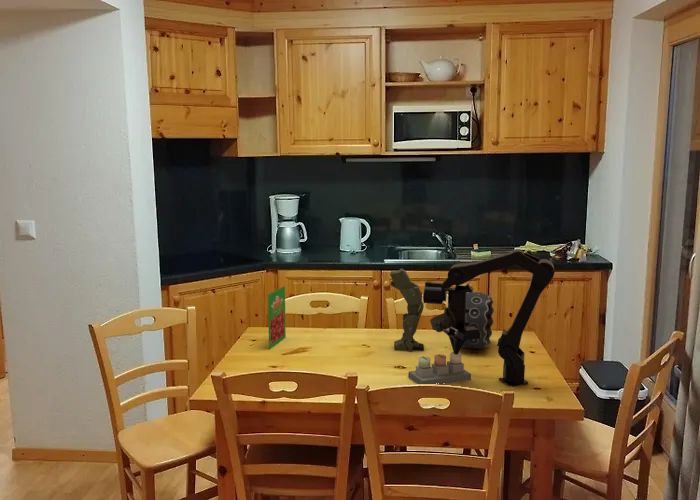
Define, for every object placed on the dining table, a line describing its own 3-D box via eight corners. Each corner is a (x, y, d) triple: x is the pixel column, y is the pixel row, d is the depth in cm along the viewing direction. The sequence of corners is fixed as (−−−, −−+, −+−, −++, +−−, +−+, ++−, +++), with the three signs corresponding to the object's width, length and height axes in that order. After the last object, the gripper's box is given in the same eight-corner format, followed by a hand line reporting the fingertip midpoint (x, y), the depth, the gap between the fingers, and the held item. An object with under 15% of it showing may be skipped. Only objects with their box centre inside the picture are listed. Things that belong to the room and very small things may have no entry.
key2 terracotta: (447, 372, 200) (448, 356, 199) (437, 374, 199) (438, 358, 198) (441, 368, 203) (442, 353, 203) (431, 370, 202) (432, 354, 201)
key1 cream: (463, 370, 202) (463, 354, 201) (453, 371, 201) (453, 356, 200) (457, 366, 205) (457, 351, 205) (447, 368, 204) (447, 352, 203)
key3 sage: (432, 374, 198) (432, 359, 197) (421, 376, 197) (422, 360, 196) (426, 371, 201) (426, 355, 201) (416, 372, 200) (416, 357, 199)
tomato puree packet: (270, 349, 230) (269, 294, 226) (267, 349, 230) (266, 294, 227) (286, 337, 244) (286, 285, 241) (284, 337, 244) (283, 285, 241)
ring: (453, 354, 225) (455, 297, 222) (464, 338, 244) (465, 286, 241) (485, 357, 222) (487, 300, 218) (493, 341, 240) (495, 288, 237)
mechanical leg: (434, 343, 234) (415, 263, 230) (434, 350, 227) (415, 267, 223) (396, 351, 236) (377, 272, 232) (396, 357, 229) (376, 276, 225)
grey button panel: (471, 379, 201) (471, 365, 200) (422, 387, 194) (422, 373, 193) (455, 370, 209) (456, 357, 208) (408, 377, 202) (408, 363, 202)
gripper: (419, 300, 205) (418, 348, 208) (450, 315, 188) (449, 366, 191) (450, 297, 209) (449, 344, 212) (482, 311, 192) (481, 361, 195)
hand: (455, 353), depth 202 cm, fingers closed, pressing on key1 cream
